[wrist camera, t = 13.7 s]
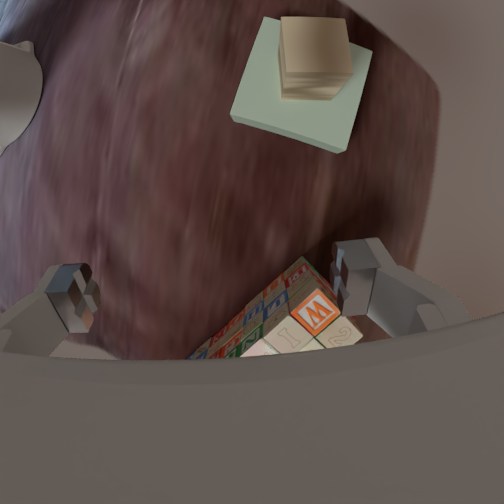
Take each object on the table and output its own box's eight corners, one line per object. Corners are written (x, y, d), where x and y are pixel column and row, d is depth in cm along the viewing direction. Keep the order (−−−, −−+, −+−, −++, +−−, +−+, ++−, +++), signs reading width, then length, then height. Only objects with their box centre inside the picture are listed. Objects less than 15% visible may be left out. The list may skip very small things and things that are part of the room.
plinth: (233, 121, 34) (229, 114, 30) (264, 31, 31) (264, 16, 27) (337, 153, 34) (345, 150, 30) (362, 63, 31) (372, 51, 28)
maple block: (281, 100, 29) (286, 72, 21) (277, 56, 28) (281, 16, 20) (330, 100, 29) (353, 73, 20) (326, 56, 28) (344, 18, 19)
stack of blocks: (215, 390, 42) (200, 453, 30) (181, 362, 41) (154, 421, 29) (337, 289, 38) (365, 336, 26) (302, 253, 37) (319, 287, 25)
